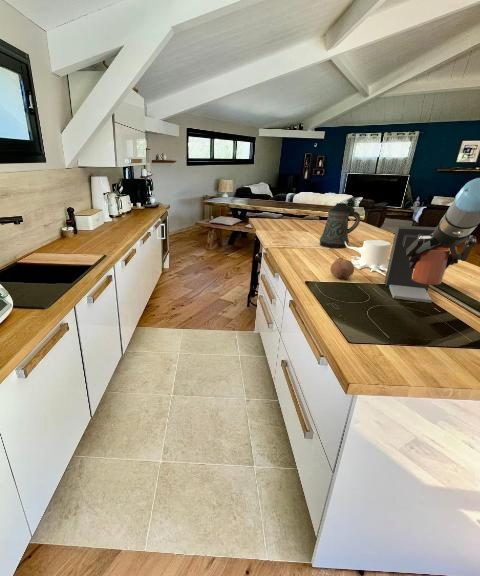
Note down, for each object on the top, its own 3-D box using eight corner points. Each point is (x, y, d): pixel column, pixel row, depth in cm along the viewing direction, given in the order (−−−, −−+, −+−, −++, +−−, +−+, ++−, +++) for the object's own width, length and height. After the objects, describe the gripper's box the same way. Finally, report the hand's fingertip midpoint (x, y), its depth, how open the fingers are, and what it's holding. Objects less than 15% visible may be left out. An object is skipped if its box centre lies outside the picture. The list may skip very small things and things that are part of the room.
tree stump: (332, 265, 155) (335, 243, 151) (352, 253, 174) (356, 233, 169) (395, 277, 137) (401, 252, 133) (411, 263, 155) (416, 240, 151)
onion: (332, 281, 143) (329, 260, 144) (355, 278, 139) (351, 256, 140) (331, 281, 134) (328, 258, 135) (356, 277, 130) (352, 254, 131)
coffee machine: (423, 286, 127) (439, 227, 119) (434, 303, 112) (453, 237, 103) (384, 282, 133) (396, 225, 124) (389, 297, 118) (404, 234, 109)
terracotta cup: (437, 277, 104) (446, 245, 100) (444, 286, 98) (454, 252, 94) (409, 275, 107) (417, 244, 103) (414, 283, 101) (422, 249, 97)
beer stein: (315, 242, 200) (320, 202, 191) (346, 241, 199) (352, 201, 190) (324, 248, 185) (330, 205, 176) (358, 248, 184) (365, 204, 175)
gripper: (409, 236, 87) (389, 272, 107) (506, 241, 79) (466, 280, 99) (410, 214, 90) (390, 254, 109) (504, 217, 82) (465, 259, 101)
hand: (426, 266), depth 104 cm, fingers closed on terracotta cup, 8 cm apart
